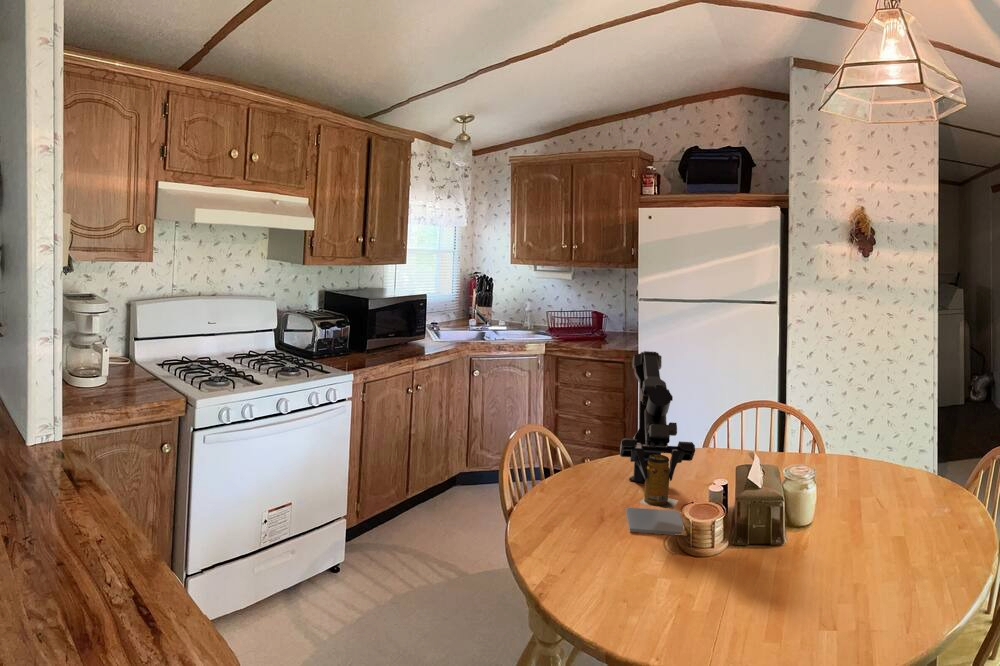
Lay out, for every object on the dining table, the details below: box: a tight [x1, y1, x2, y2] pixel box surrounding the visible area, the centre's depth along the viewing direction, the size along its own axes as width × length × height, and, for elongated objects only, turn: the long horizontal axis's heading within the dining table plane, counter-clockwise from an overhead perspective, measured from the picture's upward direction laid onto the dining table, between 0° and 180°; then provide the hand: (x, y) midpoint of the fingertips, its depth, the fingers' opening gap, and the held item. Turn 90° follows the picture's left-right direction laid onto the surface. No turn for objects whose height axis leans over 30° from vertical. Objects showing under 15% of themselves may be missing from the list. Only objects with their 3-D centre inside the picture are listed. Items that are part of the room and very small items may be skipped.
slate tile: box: [625, 506, 684, 536], centre depth 176 cm, size 14×14×1 cm
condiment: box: [639, 454, 679, 510], centre depth 175 cm, size 7×8×12 cm
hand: (658, 479), depth 173 cm, fingers closed on condiment, 6 cm apart
